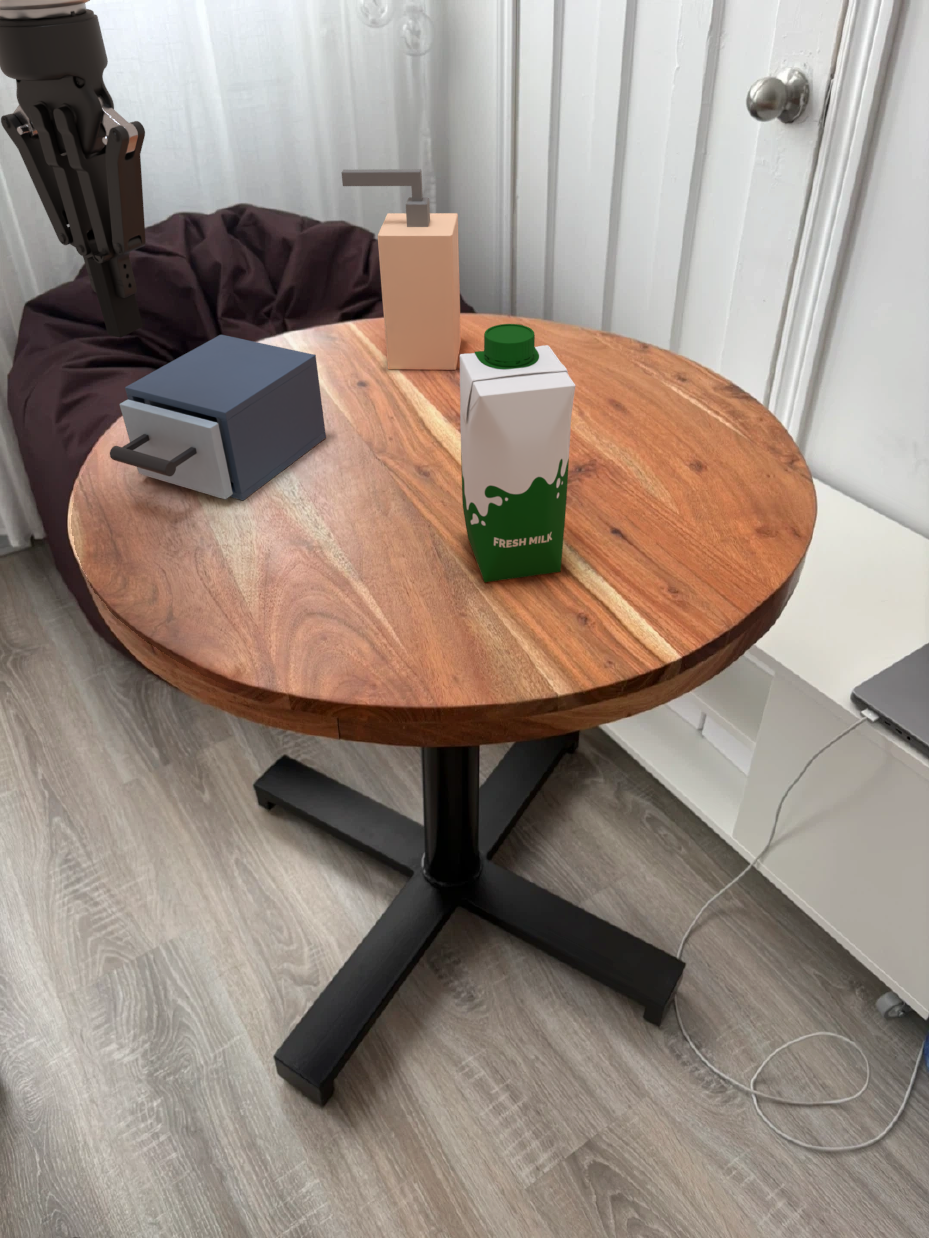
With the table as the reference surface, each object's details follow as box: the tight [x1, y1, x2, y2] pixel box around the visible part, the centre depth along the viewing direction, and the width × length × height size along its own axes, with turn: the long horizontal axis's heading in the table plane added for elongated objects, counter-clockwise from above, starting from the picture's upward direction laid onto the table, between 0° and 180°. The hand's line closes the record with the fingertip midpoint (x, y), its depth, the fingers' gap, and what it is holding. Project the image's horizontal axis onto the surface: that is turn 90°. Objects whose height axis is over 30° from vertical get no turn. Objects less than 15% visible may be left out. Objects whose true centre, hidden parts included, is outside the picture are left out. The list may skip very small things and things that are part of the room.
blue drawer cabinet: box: [124, 334, 327, 502], centre depth 96 cm, size 15×13×10 cm
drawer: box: [109, 399, 233, 500], centre depth 93 cm, size 18×11×8 cm, turn 152°
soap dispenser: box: [341, 168, 462, 371], centre depth 112 cm, size 13×9×22 cm
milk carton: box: [459, 323, 577, 583], centre depth 77 cm, size 9×9×20 cm
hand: (125, 330), depth 81 cm, fingers closed
